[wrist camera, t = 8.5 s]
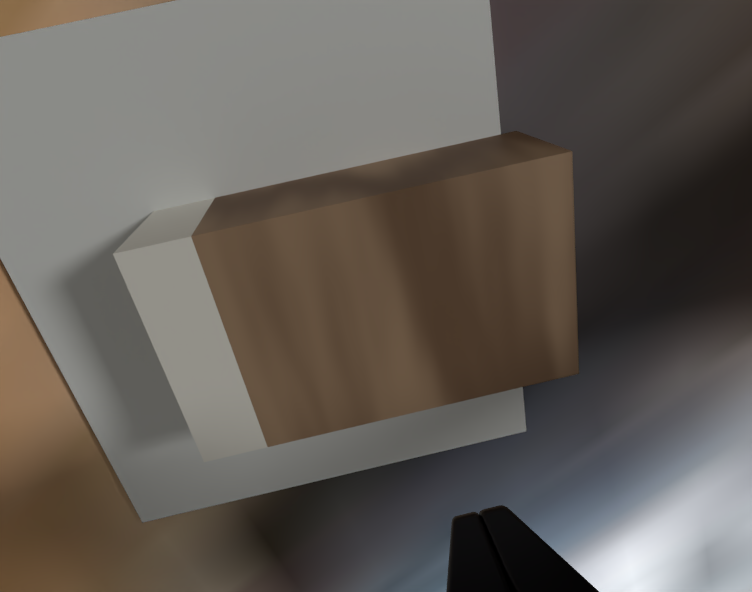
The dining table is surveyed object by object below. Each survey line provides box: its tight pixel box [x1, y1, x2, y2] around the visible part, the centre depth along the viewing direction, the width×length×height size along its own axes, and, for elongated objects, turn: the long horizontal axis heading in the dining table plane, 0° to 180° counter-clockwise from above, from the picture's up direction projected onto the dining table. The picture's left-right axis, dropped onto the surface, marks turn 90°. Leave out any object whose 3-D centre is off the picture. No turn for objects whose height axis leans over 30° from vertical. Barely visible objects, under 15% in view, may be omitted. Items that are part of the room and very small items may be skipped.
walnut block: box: [113, 131, 579, 462], centre depth 17 cm, size 4×7×12 cm
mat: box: [0, 0, 526, 523], centre depth 19 cm, size 17×18×1 cm
